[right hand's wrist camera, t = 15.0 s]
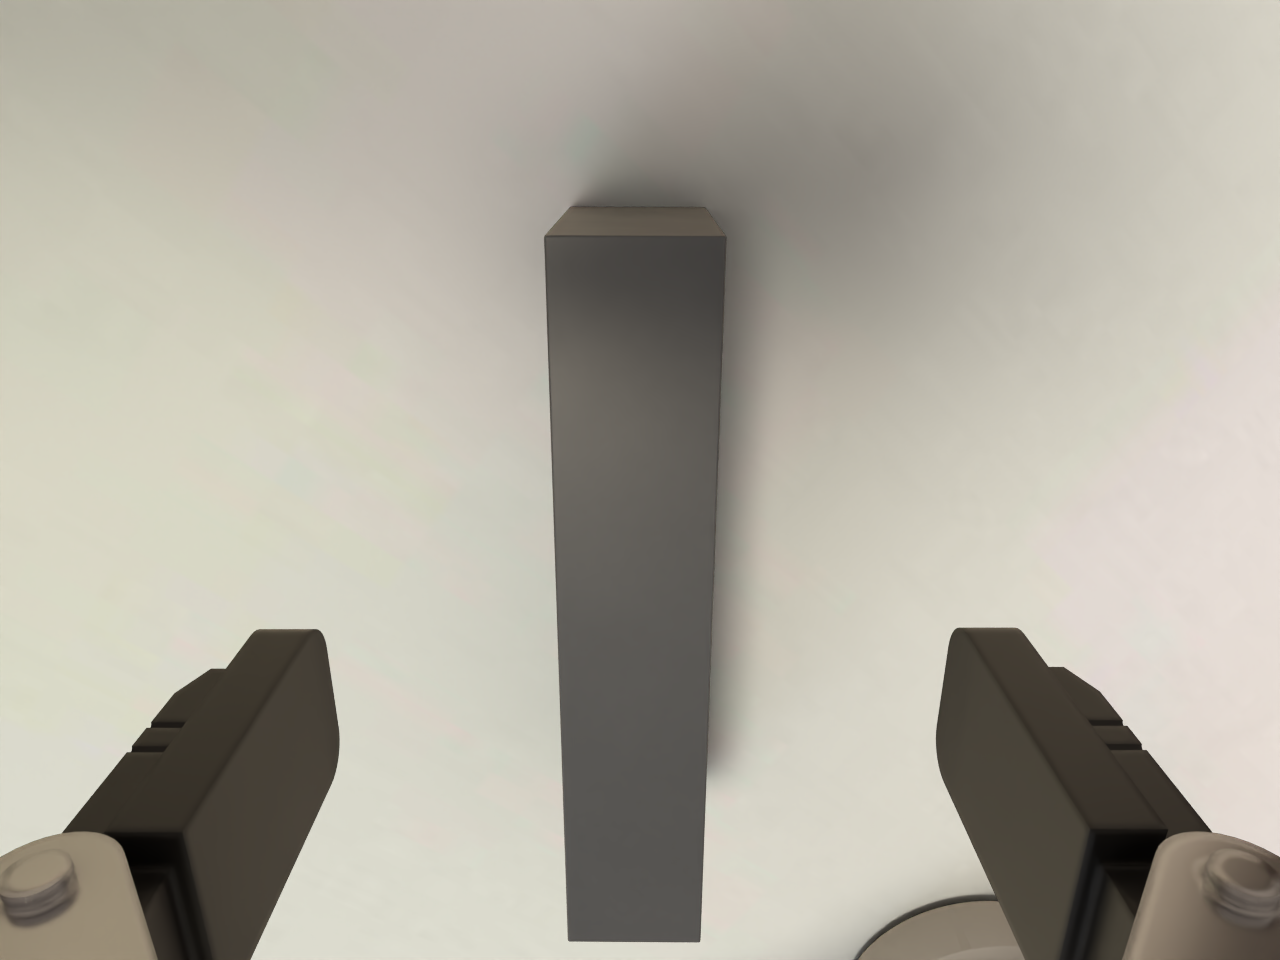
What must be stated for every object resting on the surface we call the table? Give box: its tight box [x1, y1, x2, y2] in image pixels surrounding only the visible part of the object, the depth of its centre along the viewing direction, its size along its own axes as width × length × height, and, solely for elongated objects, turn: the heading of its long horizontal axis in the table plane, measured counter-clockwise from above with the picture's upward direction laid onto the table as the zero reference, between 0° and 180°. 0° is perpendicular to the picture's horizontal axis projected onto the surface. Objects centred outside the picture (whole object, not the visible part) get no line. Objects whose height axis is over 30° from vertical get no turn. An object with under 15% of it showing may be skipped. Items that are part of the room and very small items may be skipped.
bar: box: [544, 207, 727, 942], centre depth 32 cm, size 24×5×9 cm, turn 0°
